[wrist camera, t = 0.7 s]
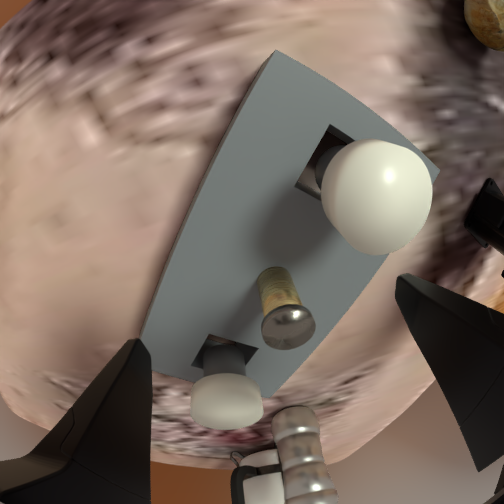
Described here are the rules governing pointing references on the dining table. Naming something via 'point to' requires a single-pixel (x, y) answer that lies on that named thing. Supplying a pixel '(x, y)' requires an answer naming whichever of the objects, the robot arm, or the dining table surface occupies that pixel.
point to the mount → (263, 229)
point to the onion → (486, 21)
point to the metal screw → (283, 311)
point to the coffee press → (258, 478)
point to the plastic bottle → (302, 457)
